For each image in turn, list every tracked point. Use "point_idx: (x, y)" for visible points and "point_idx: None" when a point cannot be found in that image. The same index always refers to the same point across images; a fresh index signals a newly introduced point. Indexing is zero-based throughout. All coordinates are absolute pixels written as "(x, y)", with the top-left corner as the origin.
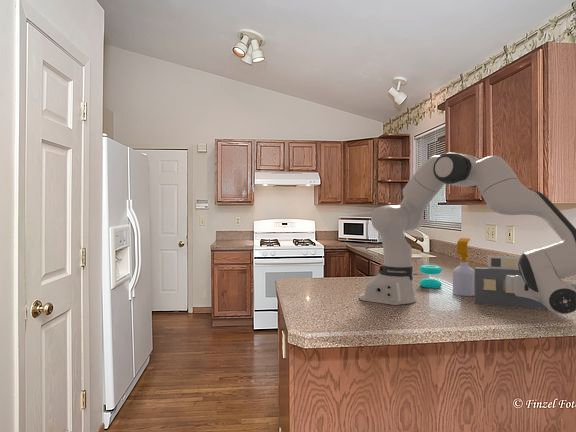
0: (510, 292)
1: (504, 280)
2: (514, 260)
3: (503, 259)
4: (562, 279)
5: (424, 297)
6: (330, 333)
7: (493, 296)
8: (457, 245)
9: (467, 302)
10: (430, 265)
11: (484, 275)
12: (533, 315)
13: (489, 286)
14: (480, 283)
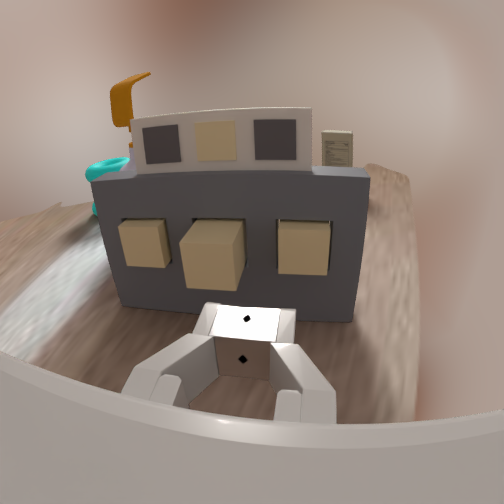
0: (203, 287)
1: (194, 223)
2: (232, 126)
3: (188, 126)
4: (483, 447)
5: (31, 275)
6: None
7: (168, 284)
8: (110, 99)
9: (107, 298)
10: (116, 158)
11: (123, 207)
12: (270, 412)
13: (140, 253)
14: (117, 239)
